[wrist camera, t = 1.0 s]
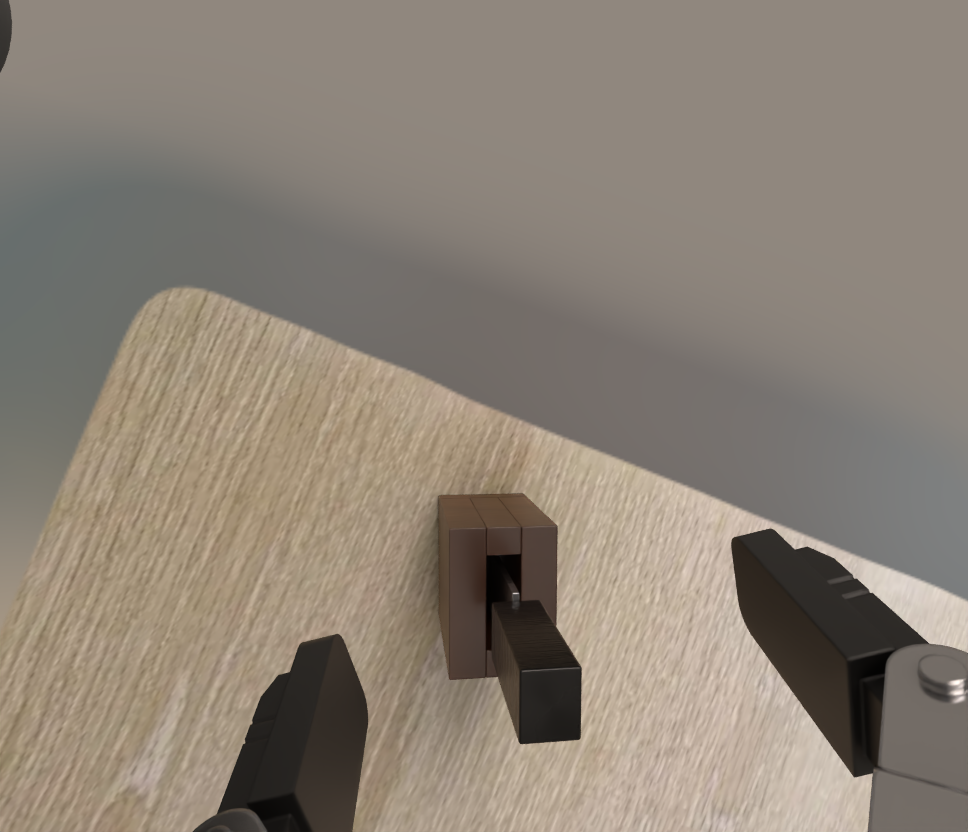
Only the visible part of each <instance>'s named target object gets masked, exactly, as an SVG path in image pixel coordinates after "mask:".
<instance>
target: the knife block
mask: <svg viewBox="0 0 968 832" xmlns="http://www.w3.org/2000/svg"><path fill="white" fill-rule="evenodd" d="M438 545H439V619H440V626H441V632H442V638H443V645H444V651H445V657H446V663H447V670H448V676H449V680H457V679H473V678H486V677H487V678H488V677H498V676H497V673H496V670H495V667H494V663H493V660H492V611H491V609H490V606H489V604H488V601H487V599H486V555H499V557H500V559H501V561H502V563H503V564H504V566H505V568H506V570H507V572H508V574H509V575H510V577H511V579H512V581H513V583H514V584H515V586H516V588H517V590H518V592H519V601H528V600H540V602H541V603H542V605H543V607H544V608H545V610H546V611H547V613H548V615H549V616H550V618H551V619H552V621H553V623H554V624H555V626H556V614H557V525H556V524H555V523H554V522H553V521H552V520H551V519H550V518H549V517H547V516H546V515H545V514H544V513H543V512H542V511H541V510H540V509H539V508H538V507H537V506H536V505H535V504H534V503H533V502H532V501H531V500H529V499H528V498H527V497H526V496H525V495H524V494H478V495H439V496H438Z"/></svg>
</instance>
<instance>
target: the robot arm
mask: <svg viewBox="0 0 968 832" xmlns="http://www.w3.org/2000/svg"><path fill="white" fill-rule="evenodd" d="M731 548H732V556H733V564H734V572H735V580H736V588H737V595H738V602H739V607H740V611H741V614H742V617H743V619H744V622H745V624H746V626H747V628H748V630H749V632H750V633H751V635H752V636H753V638H754V639H755V641H756V642H757V643H758V645H759V646H760V647H761V649H762V650H763V652H764V653H765V654H766V656H767V657H768V659H769V660H770V661H771V663H772V664H773V665H774V667H775V668H776V670H777V671H778V672H779V674H780V675H781V677H782V678H783V679H784V681H785V682H786V683H787V685H788V686H789V688H790V689H791V690H792V692H793V693H794V695H795V696H796V697H797V699H798V700H799V701H800V703H801V704H802V706H803V707H804V708H805V710H806V711H807V713H808V714H809V715H810V717H811V718H812V719H813V721H814V722H815V724H816V725H817V726H818V728H819V729H820V731H821V732H822V733H823V735H824V736H825V737H826V739H827V740H828V742H829V743H830V744H831V746H832V747H833V749H834V750H835V751H836V753H837V754H838V755H839V757H840V758H841V760H842V761H843V762H844V764H845V765H846V767H847V768H848V769H849V771H850V772H851V774H852V775H853V776H854V778H855V777H859V776H863V775H867V774H871V773H873V777H872V788H871V800H870V811H869V823H868V832H968V653H966V652H964V651H962V650H958V649H955V648H952V647H948V646H943V645H936V644H929V643H928V642H927V641H926V640H925V639H923V638H922V637H921V636H920V635H919V634H918V633H917V632H916V631H915V630H913V629H912V628H911V627H910V626H909V625H908V624H907V623H906V622H904V621H903V620H902V619H901V618H900V617H899V616H898V615H897V614H896V613H894V612H893V611H892V610H891V609H890V608H889V607H888V606H887V605H885V604H884V603H883V602H882V601H881V600H880V599H879V598H878V597H877V596H875V595H874V594H873V593H870V592H869V590H868V588H867V587H865V586H864V585H863V584H862V583H861V582H860V581H859V580H858V579H854V578H853V575H852V574H851V573H850V572H849V571H848V570H846V569H845V568H844V567H843V566H842V565H841V564H840V563H839V562H837V561H836V560H835V559H834V558H832V557H830V556H827V555H825V554H823V553H821V552H818V551H816V550H814V549H812V548H809V547H804V548H800V549H796V550H795V549H793V548H792V547H791V546H790V545H789V544H788V543H787V542H786V541H785V540H784V539H783V538H782V537H781V536H780V535H779V534H778V533H777V532H776V531H775V530H773V529H766V530H762V531H758V532H754V533H750V534H746V535H742V536H738V537H734V538H733V539H732V542H731ZM252 722H253V724H252V725H250V727H249V730H248V733H247V735H246V738H245V744H243V746H242V749H241V751H240V754H239V757H238V759H237V762H236V765H235V767H234V770H233V773H232V775H231V778H230V781H229V783H228V786H227V789H226V791H225V794H224V796H223V799H222V802H221V804H220V807H219V810H218V812H217V815H215V816H213V817H211V818H209V819H208V820H207V821H205V822H204V823H202V824H201V825H200V826H199V827H197V828H196V829H195V830H194V831H193V832H352V829H353V822H354V816H355V809H356V802H357V795H358V789H359V782H360V775H361V768H362V762H363V755H364V748H365V741H366V735H367V728H368V710H367V703H366V698H365V695H364V691H363V689H362V686H361V684H360V681H359V678H358V676H357V673H356V671H355V668H354V666H353V663H352V660H351V658H350V655H349V653H348V650H347V648H346V645H345V643H344V640H343V639H342V637H341V636H340V635H339V634H335V635H331V636H327V637H323V638H319V639H315V640H311V641H306V642H302V643H301V644H300V645H299V647H298V650H297V653H296V656H295V659H294V662H293V665H292V668H291V671H290V672H289V673H285V674H281V675H278V676H277V677H276V679H275V680H274V681H273V683H272V684H271V685H270V686H269V688H268V689H267V690H266V691H265V693H264V694H263V695H262V696H261V698H260V701H259V703H258V706H257V709H256V711H255V714H254V717H253V719H252Z"/></svg>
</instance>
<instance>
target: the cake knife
mask: <svg viewBox="0 0 968 832" xmlns="http://www.w3.org/2000/svg"><path fill="white" fill-rule="evenodd" d="M486 599H487V601H488V604H489V606H490V609H491V611H492V660H493V663H494V667H495V670H496V673H497V676H498V679H499V682H500V685H501V688H502V691H503V694H504V697H505V701H506V704H507V707H508V710H509V713H510V716H511V719H512V722H513V725H514V728H515V731H516V735H517V738H518V741H519V743H520V744H531V743H544V742H557V741H570V740H579V739H580V738H581V678H582V668H581V666H580V664H579V663H578V661H577V659H576V658H575V656H574V655H573V653H572V651H571V650H570V648H569V647H568V645H567V643H566V642H565V640H564V639H563V637H562V635H561V634H560V632H559V631H558V629H557V627H556V626H555V624H554V623H553V621H552V619H551V618H550V616H549V615H548V613H547V611H546V610H545V608H544V607H543V605H542V603H541V602H540V600H528V601H519V592H518V590H517V588H516V586H515V584H514V583H513V581H512V579H511V577H510V575H509V574H508V572H507V570H506V568H505V566H504V564H503V563H502V561H501V559H500V557H499V555H486Z"/></svg>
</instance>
